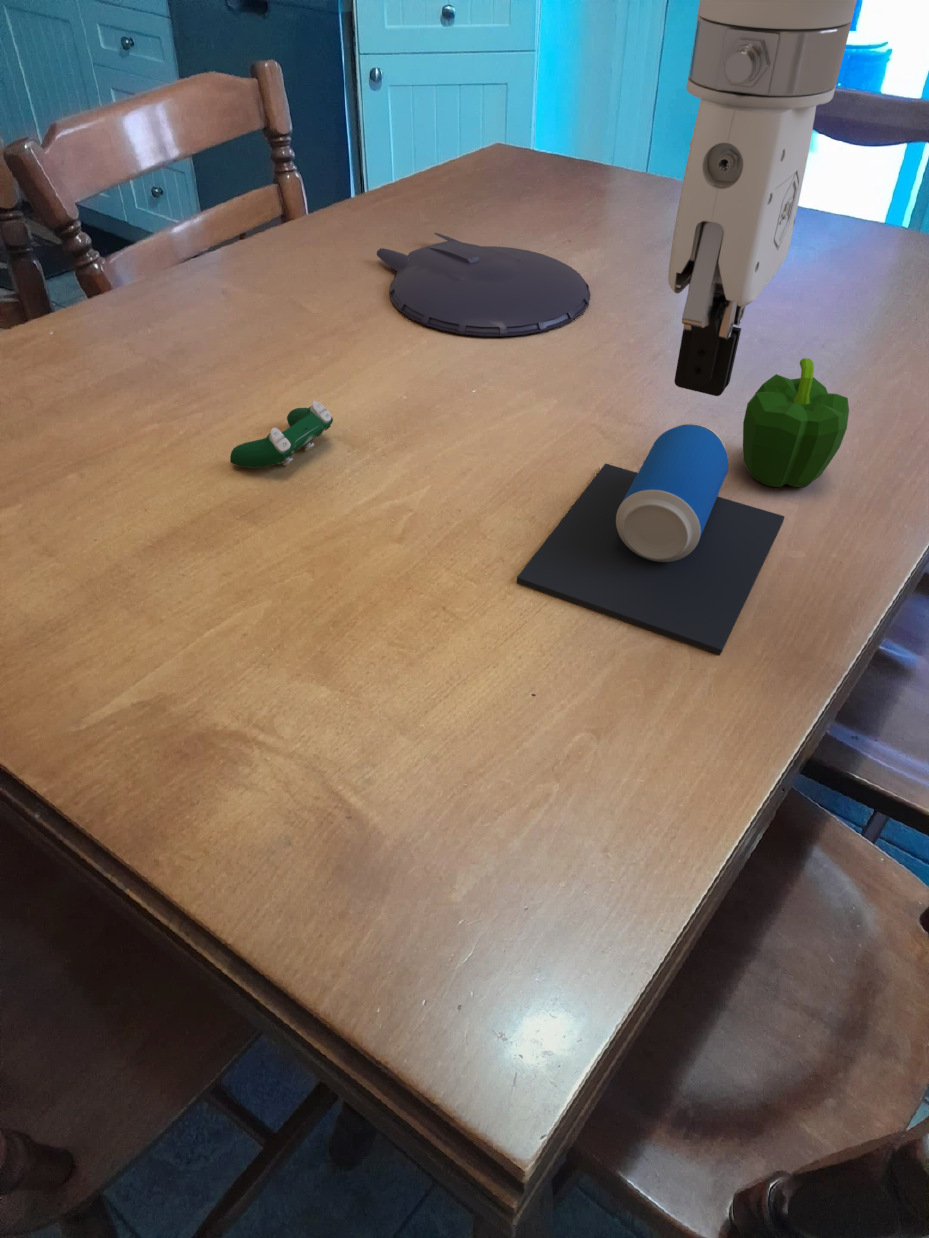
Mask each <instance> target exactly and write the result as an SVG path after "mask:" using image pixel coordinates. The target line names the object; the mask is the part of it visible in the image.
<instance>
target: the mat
mask: <svg viewBox="0 0 929 1238" xmlns="http://www.w3.org/2000/svg"><path fill="white" fill-rule="evenodd" d="M637 474H638V472H637V471H632V470H629V469H626V468H623V467H620V466H616V465H612V464H610V463H606V462H605V463H604V465H602V467H601V468H600V469H599V471H598V472H597V474H595V476H594V477H593V478H592V479H591V481H590V482H589V483H588V485H587V486H586V488H585V489H584V490H583V491H582V492H581V494H580V495H579V497H577V499H576V501H575V502H574V503H573V504H572V506H570V508H569V510H567V512H566V513H565V515H564V516H563V517H562V519H561V520H560V521H559V522H558V524H557V525H556V526H555V527H554V529H553V530H552V531H551V532H550V534H549V535H548V536H547V537H546V539H545V540H544V541H543V543H542V544H541V545H540V547H539V548H538V549H537V551H536V552H535V553H534V555H532V557H531V559H530V560H529V561H528V562H527V564H526V565H525V566H524V567H523V569H522V570H521V571H520V573H519V574H518V575H517V576H516V584H519V585H521V586H524V587H527V588H530V589H533V590H534V591H539V592H541V593H544V594H547V595H548V596H549V595H550V596H552V597H555V598H557V599H559V600H564V601H566V602H569V603H572V604H574V605H578V606H580V607H583V608H586V609H589V610H592V611H594V612H597V613H600V614H603V615H606V616H608V617H611V618H613V619H617V620H619V621H622V622H626V623H627V624H630V625H634V626H637V627H638V628H639V627H640V628H641V629H644V630H648V631H650V632H652V633H653V632H654V633H656V634H659V635H662V636H665V637H667V638H669V639H672V640H676V641H678V642H681V643H684V644H686V645H688V646H689V645H690V646H692V647H695V648H698V649H700V650H704V651H707V652H709V653H712V654H715V655H717V656H721V655H722V653H723V651H724V648H725V646H726V644H727V642H728V640H729V638H730V635H731V633H732V631H733V629H734V627H735V625H736V622H737V621H738V619H739V616H740V614H741V612H742V611H743V608H744V605H745V604H746V601H747V599H748V598H749V595H750V593H751V591H752V589H753V587H754V585H755V582H756V580H757V578H758V576H759V574H760V572H761V569H762V567H763V565H764V563H765V561H766V559H767V557H768V555H769V552H770V551H771V548H772V546H773V544H774V542H775V540H776V538H777V536H778V534H779V531H780V529H781V527H782V525H783V523H784V521H785V516H784V515H782V514H778V513H775V512H772V511H768V510H765V509H761V508H758V507H755V506H751V505H748V504H745V503H741V502H738V501H734V500H731V499H728V498H724V497H722V496H721V497H720V496H719V495H718V496H717V498H716V501H715V503H714V505H713V508H712V510H711V513H710V515H709V518H708V520H707V522H706V525H705V527H704V530H703V532H702V534H701V537H700V539H699V542H698V544H697V546H696V547H695V549H694V550H693V551H692V552H691V553H690V554H688V555H687V556H685V557H684V558H682V559H679V560H676V561H671V562H657V561H652V560H648V559H646V558H643V557H641V556H639V555H637V554H636V553H634V552H633V551H632V550H630V549H629V548H628V547H627V546H626V545H625V543H624V542H623V541H622V539H621V537H620V536H619V533H618V530H617V527H616V515H617V511H618V509H619V507H620V505H621V503H622V501H623V499H624V498H625V496H626V494H627V492H628V490H629V488H630V487H631V485H632V483H633V481H634V479H635V477H636V476H637Z"/></svg>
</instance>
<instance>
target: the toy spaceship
mask: <svg viewBox="0 0 929 1238" xmlns="http://www.w3.org/2000/svg"><path fill="white" fill-rule="evenodd" d="M434 235H436V236H437V237H439V238H441V239H443V240H444V241H441V242H437V243H433V244H430V245H429V244H428V245H426V246H423V247H421V248H417V249H414V250H412V251H410V252H409V253H408V254H405V253H403V252H399V251H396V250H393V249H389V248H384V247H383V248H382V247H381V248H379V249H377V251H376V256H377V257H378V258H379V259H380V260H381V261H382V262H383V263H385V265H387V266H388V267H390V268H391V269H393V270H395V271H397V272H396V273H395V275H394V277H393V279H392V281H391V283H390V285H389V289H388V290H389V291H388V293H389V294H388V295H389V297H390V300H391V303H392V305H394V306H395V308H396V309H397V310H398V311H399V312H401V313H402V314H403V315H404V316H406V317H407V318H409V319H410V320H413V321H415V322H418V323H419V324H420V325H421V324H422V325H423V326H427V327H430V328H433V329H436V330H440V331H442V332H443V331H444V332H449V333H454V334H458V335H465V336H466V335H467V336H476V337H511V336H513V337H514V336H522V335H523V336H525V335H530V334H535V333H541V332H545V331H549V330H552V329H555V328H558V327H561V326H563V325H565V324H567V323H569V322H572V321H574V320H575V319H576V318H578V317H579V316H581V314H583V313H584V311H585V310H586V309H587V307H588V306H589V305H590V300H591V291H590V285H589V284H588V283H587V282H586V280H585V278H583V276H582V275H581V273H579V272H578V271H576V269H574V268H573V267H572V266H569V265H568V264H566V263H564V262H562V261H561V260H559V259H556V258H554V257H551V256H549V255H546V254H543V253H539V252H535V251H533V250H532V251H531V250H529V249H528V250H527V249H522V248H517V247H509V246H508V247H507V246H495V245H494V246H492V245H491V246H489V245H488V246H487V245H477V244H472V243H467V242H463V241H460V240H457V239H455V238H453V237H450V236H447V235H444V234H441V233H438V232H435V233H434Z"/></svg>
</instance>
